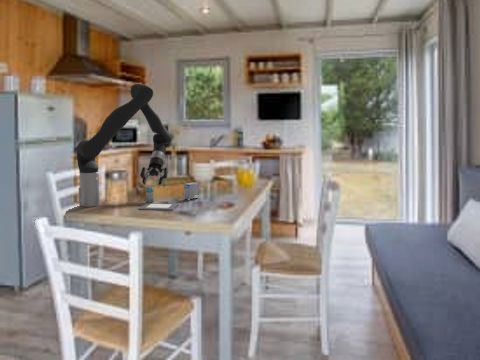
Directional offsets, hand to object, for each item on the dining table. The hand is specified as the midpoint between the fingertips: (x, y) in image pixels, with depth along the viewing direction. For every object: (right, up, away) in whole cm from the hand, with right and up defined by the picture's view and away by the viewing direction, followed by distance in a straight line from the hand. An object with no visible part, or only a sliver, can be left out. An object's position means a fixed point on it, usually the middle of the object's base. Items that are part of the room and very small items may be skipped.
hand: (151, 183), depth 247 cm
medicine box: (+21, -9, +8) cm, 24 cm away
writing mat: (+7, -12, -16) cm, 21 cm away
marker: (0, -10, -3) cm, 10 cm away
